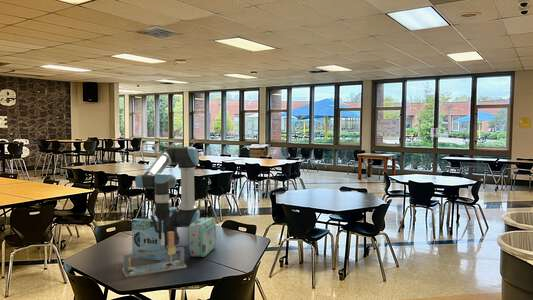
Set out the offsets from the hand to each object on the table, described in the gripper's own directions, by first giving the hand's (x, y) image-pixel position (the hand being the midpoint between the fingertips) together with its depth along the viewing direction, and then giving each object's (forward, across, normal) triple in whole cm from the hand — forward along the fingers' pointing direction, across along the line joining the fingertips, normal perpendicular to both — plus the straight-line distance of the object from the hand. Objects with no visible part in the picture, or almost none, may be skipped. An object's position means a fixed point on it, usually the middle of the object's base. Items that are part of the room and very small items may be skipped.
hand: (162, 244), depth 220 cm
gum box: (+13, -3, +21) cm, 25 cm away
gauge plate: (+13, -4, 0) cm, 14 cm away
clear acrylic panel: (+12, -4, 0) cm, 12 cm away
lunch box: (+13, +29, +16) cm, 35 cm away
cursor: (+12, +5, 0) cm, 12 cm away
